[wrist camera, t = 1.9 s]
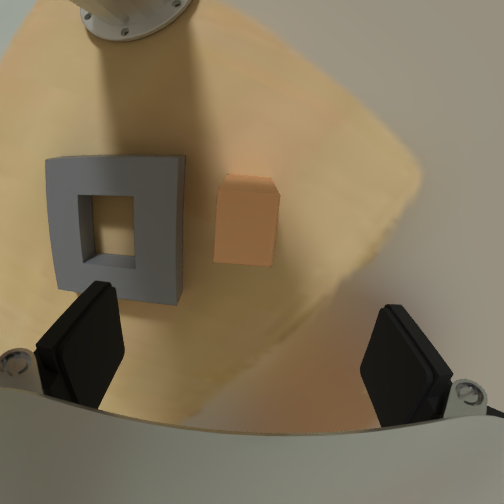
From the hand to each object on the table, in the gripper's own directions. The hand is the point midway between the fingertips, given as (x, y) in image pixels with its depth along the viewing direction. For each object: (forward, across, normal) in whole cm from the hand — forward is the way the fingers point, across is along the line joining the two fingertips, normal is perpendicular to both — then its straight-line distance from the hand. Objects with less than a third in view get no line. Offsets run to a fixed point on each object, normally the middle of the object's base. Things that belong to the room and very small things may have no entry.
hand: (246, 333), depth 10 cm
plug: (+20, 0, 0) cm, 20 cm away
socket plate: (+20, +13, +2) cm, 24 cm away
